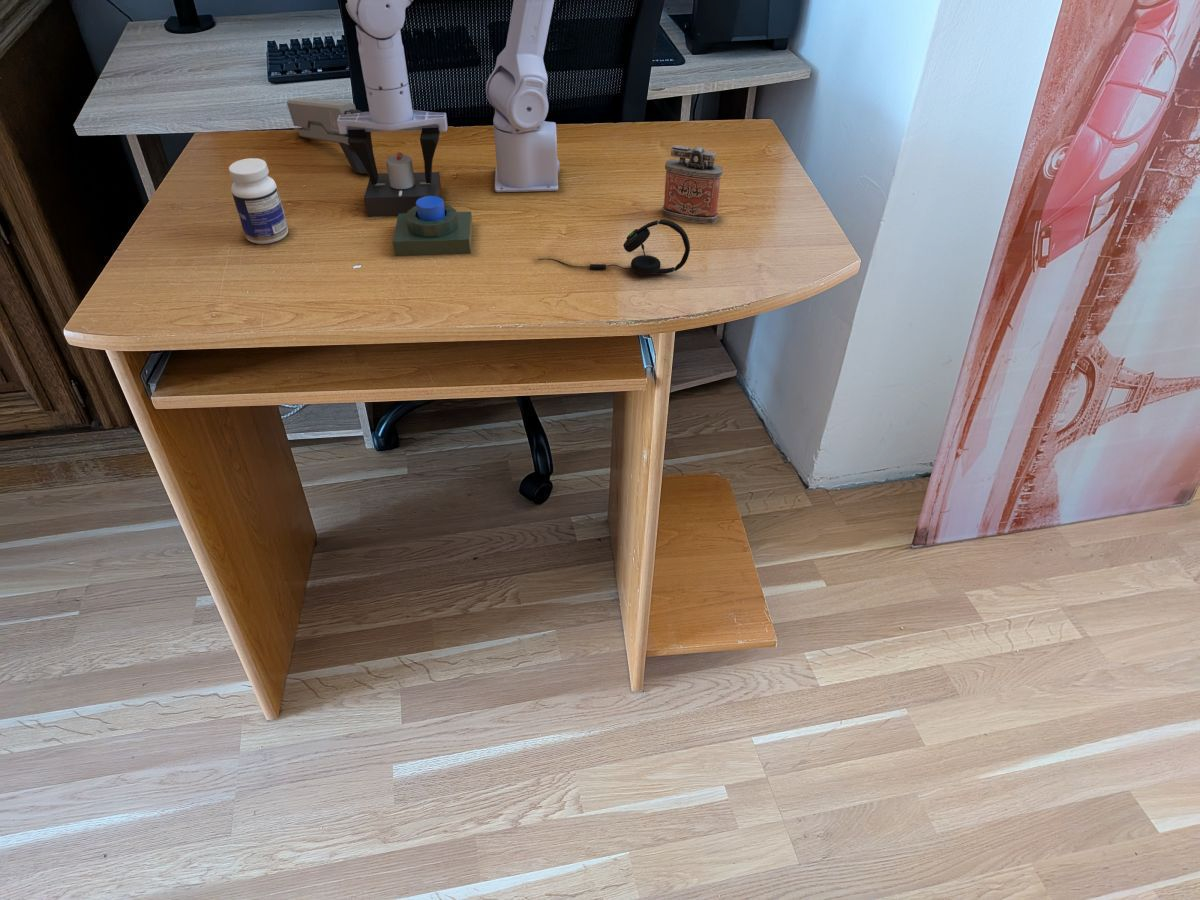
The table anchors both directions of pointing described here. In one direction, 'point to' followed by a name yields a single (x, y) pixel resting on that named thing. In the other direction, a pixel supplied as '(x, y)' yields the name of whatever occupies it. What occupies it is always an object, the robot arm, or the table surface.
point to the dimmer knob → (400, 171)
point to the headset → (644, 262)
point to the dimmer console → (398, 195)
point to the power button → (430, 208)
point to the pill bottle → (257, 201)
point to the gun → (324, 124)
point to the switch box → (433, 234)
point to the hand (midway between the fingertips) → (402, 181)
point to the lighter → (692, 185)
